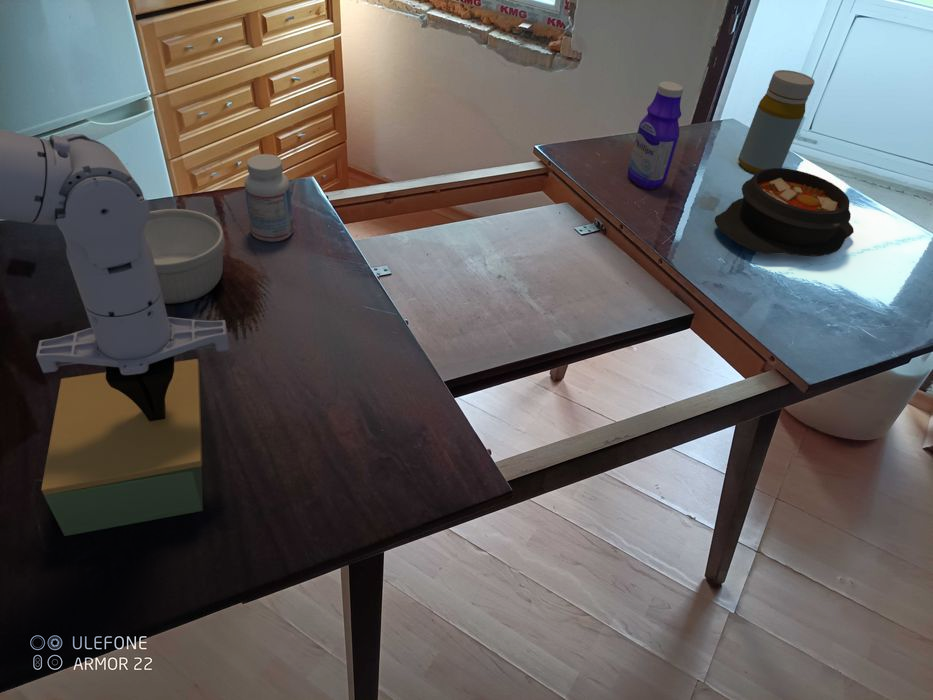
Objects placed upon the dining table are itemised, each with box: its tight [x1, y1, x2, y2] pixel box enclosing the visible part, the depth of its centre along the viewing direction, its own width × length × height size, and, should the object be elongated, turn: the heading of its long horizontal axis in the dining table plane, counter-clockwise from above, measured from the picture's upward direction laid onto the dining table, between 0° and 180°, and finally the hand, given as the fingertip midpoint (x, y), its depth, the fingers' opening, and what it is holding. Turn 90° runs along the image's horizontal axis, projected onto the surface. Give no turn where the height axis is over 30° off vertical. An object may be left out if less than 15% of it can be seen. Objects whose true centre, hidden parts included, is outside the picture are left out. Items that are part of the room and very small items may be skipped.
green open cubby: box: [43, 465, 204, 537], centre depth 65 cm, size 12×14×6 cm
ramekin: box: [144, 208, 225, 305], centre depth 88 cm, size 13×13×7 cm
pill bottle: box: [244, 153, 294, 243], centre depth 97 cm, size 6×6×11 cm
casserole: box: [714, 168, 854, 257], centre depth 111 cm, size 25×19×8 cm
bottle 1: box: [627, 81, 684, 190], centre depth 119 cm, size 7×6×17 cm
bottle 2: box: [737, 69, 815, 175], centre depth 128 cm, size 8×8×17 cm
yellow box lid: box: [41, 358, 203, 496], centre depth 63 cm, size 12×14×1 cm
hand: (157, 412), depth 63 cm, fingers closed
